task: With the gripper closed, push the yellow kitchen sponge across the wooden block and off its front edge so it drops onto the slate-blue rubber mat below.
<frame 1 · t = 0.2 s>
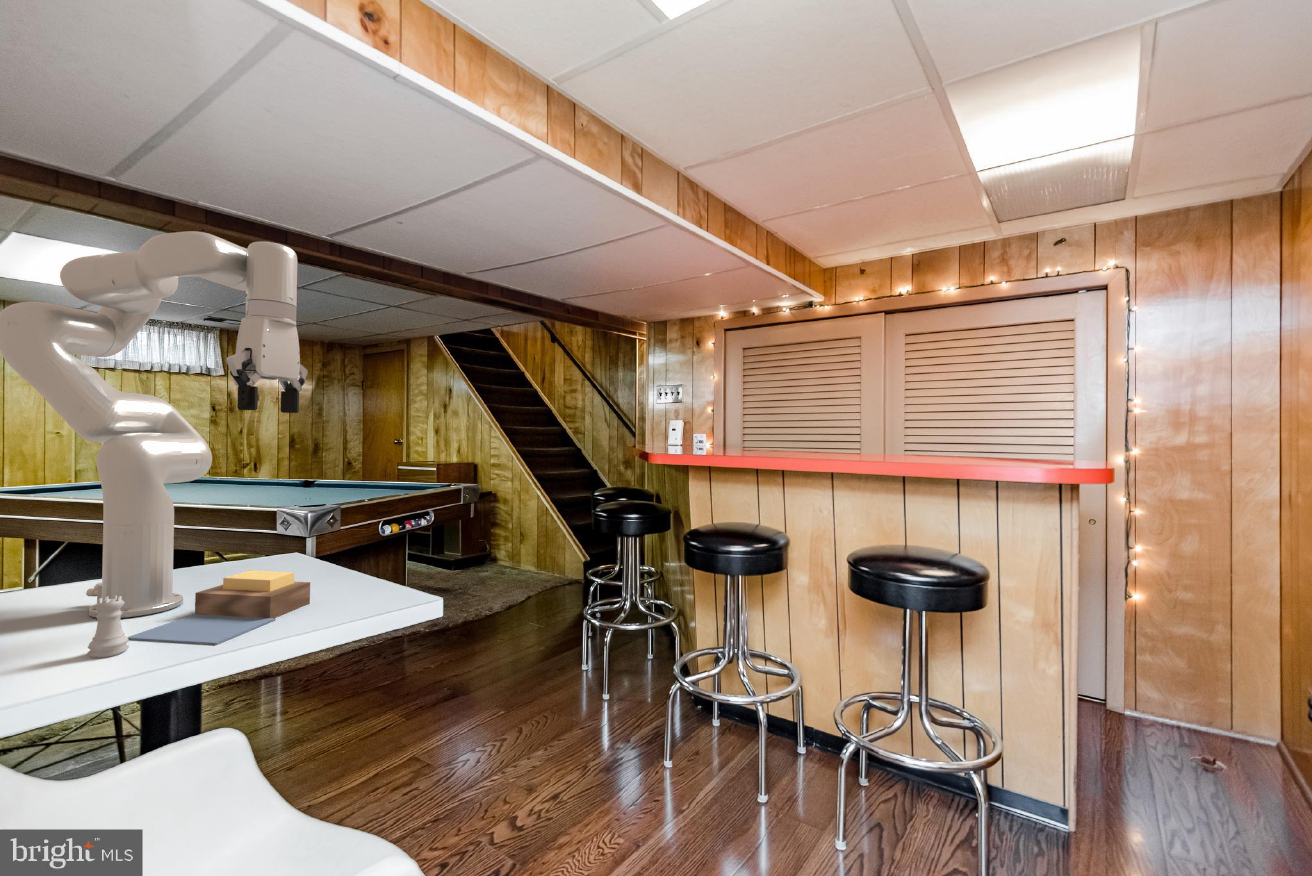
hand: (269, 411, 102), 36 cm above the table, tool pointing down, fingers open, 9 cm apart
rook chess piece: (108, 654, 83), on the table
yellow kitchen sponge: (259, 586, 106), point 4 cm above the table, touching wooden block
wooden block: (254, 609, 105), on the table
mat: (205, 629, 94), on the table
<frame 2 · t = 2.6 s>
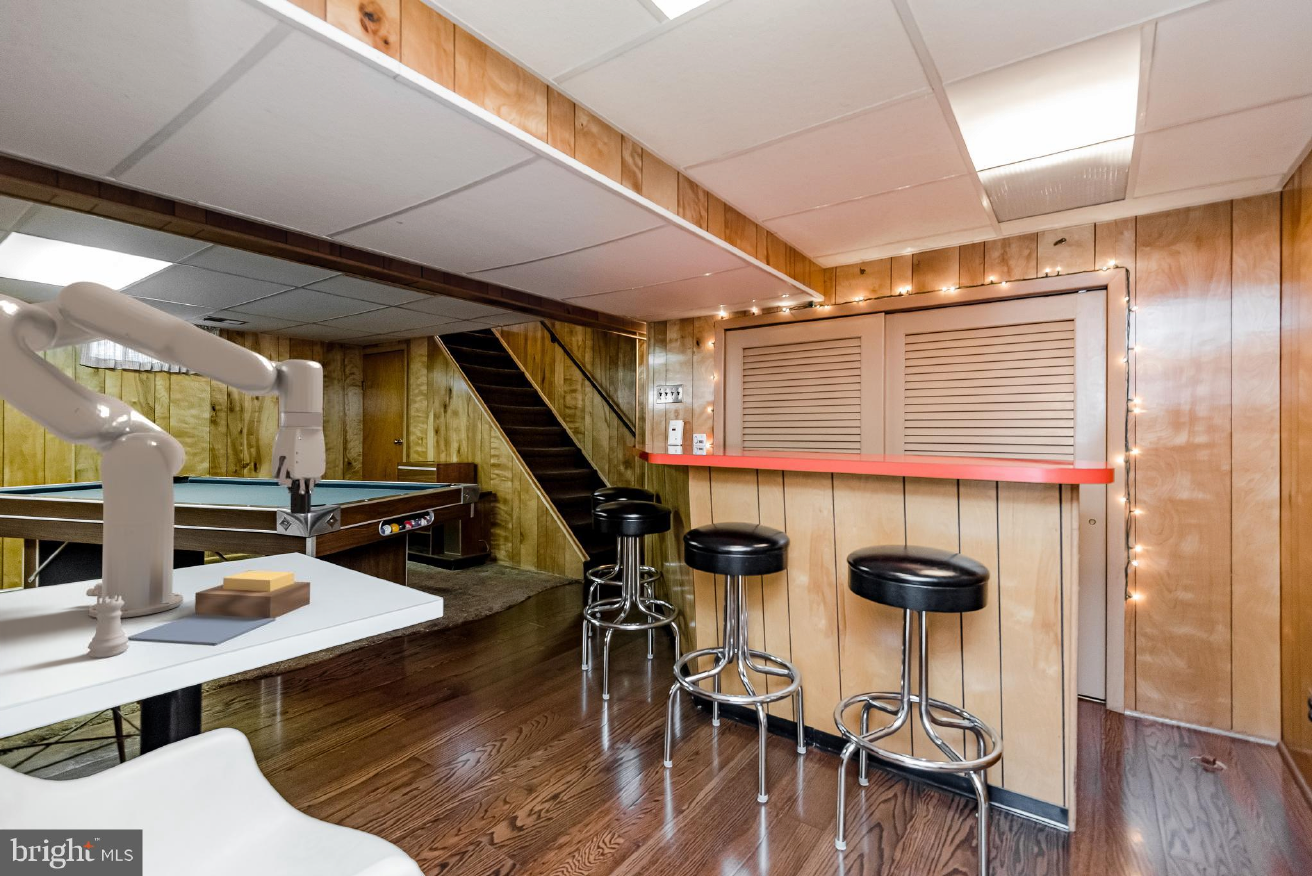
hand: (300, 513, 116), 16 cm above the table, tool pointing down, fingers closed
nothing on the table moved.
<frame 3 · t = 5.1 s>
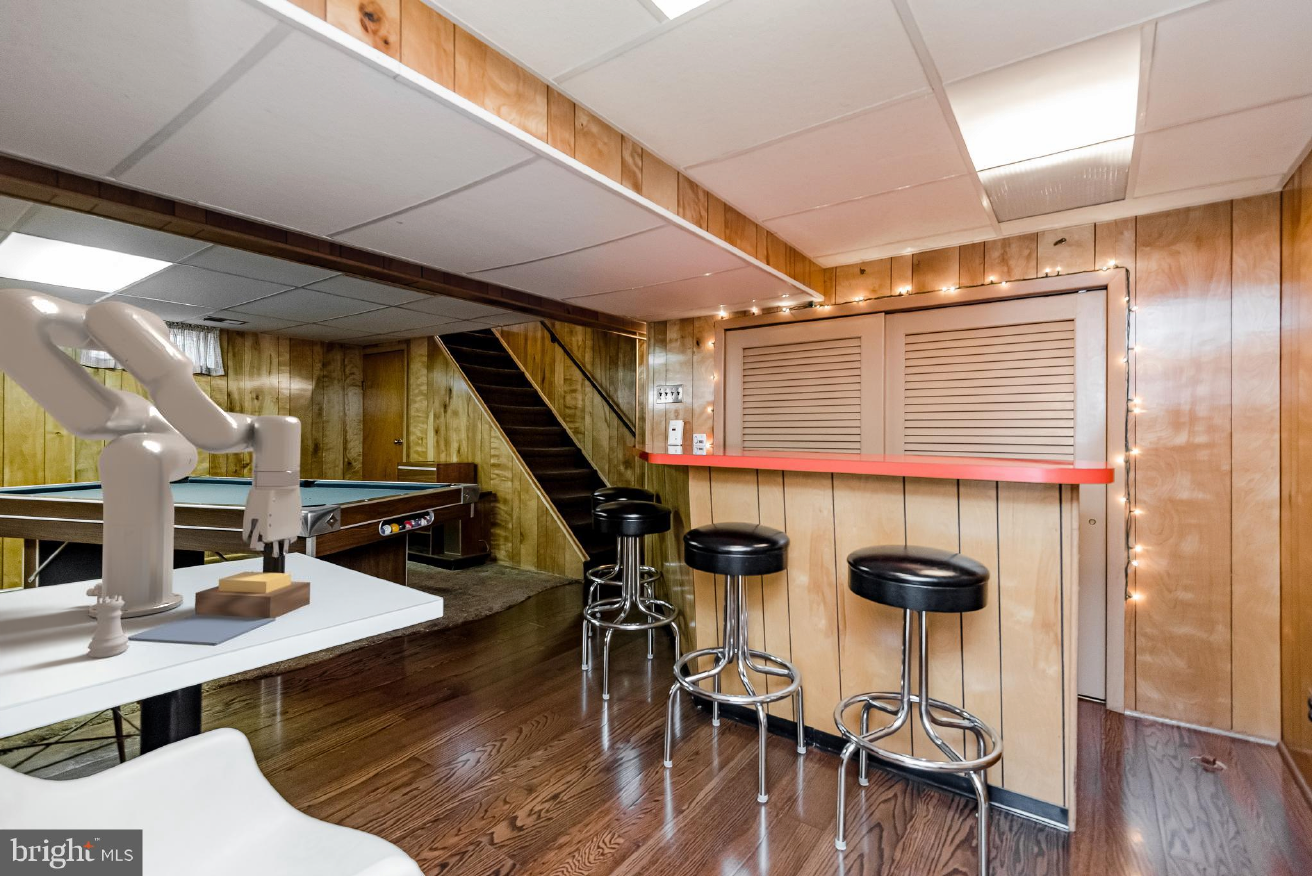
hand: (273, 576, 110), 5 cm above the table, tool pointing down, fingers closed
yellow kitchen sponge: (255, 587, 105), point 4 cm above the table, touching wooden block, gripper
everything else where it was.
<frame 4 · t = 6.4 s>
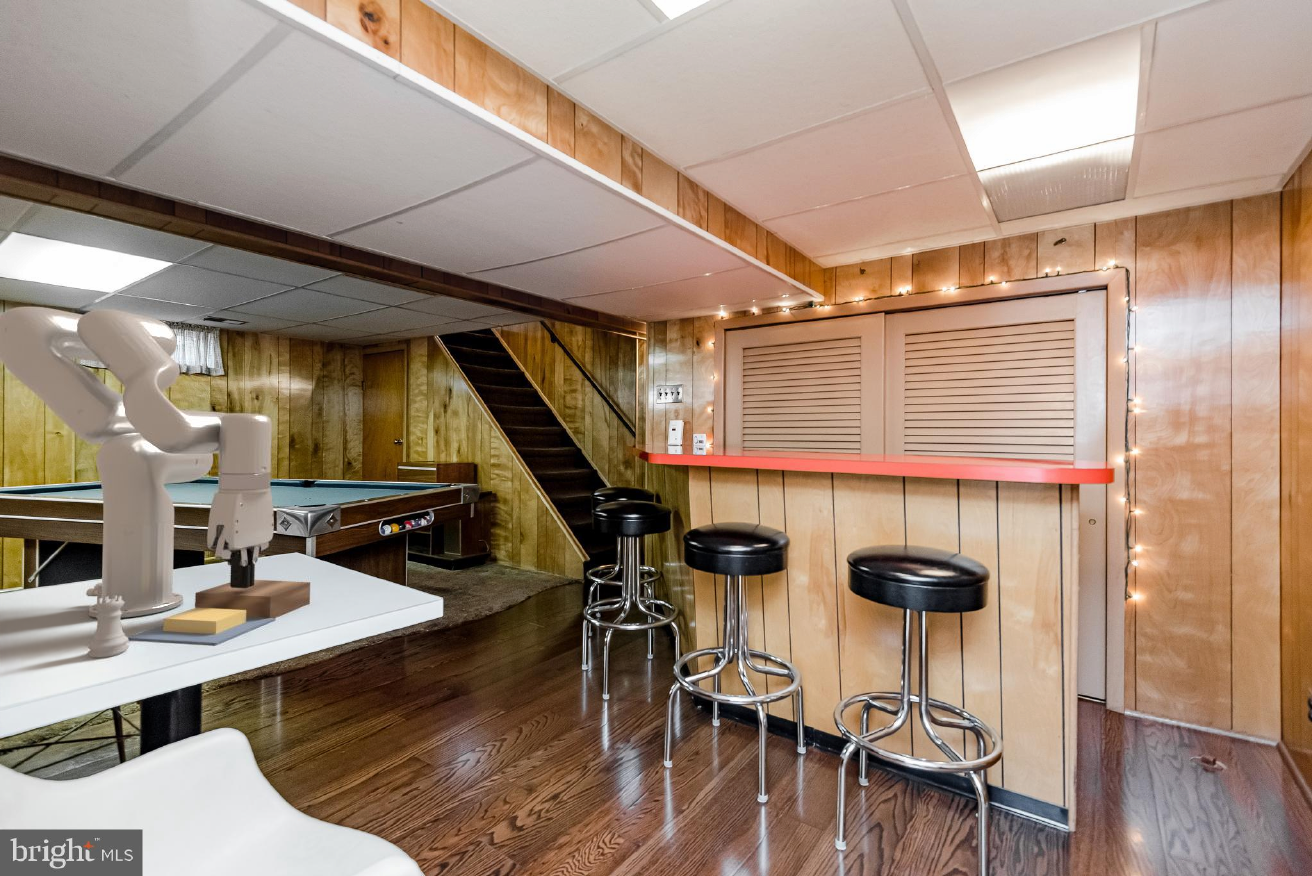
hand: (242, 586, 102), 5 cm above the table, tool pointing down, fingers closed
yellow kitchen sponge: (206, 614, 95), point 2 cm above the table, tilted 180°, touching mat
everything else where it was.
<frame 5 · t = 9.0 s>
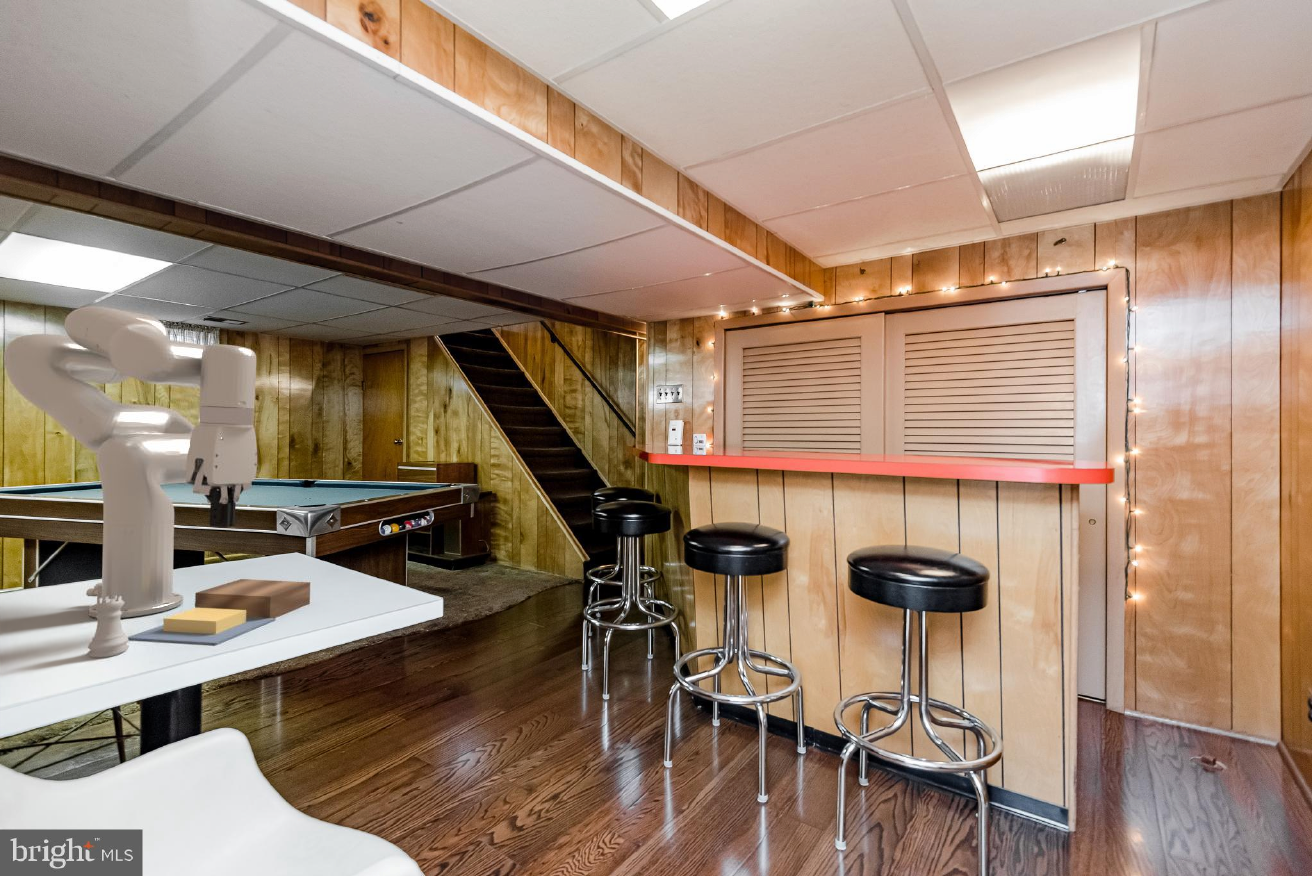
hand: (222, 525, 98), 16 cm above the table, tool pointing down, fingers closed
nothing on the table moved.
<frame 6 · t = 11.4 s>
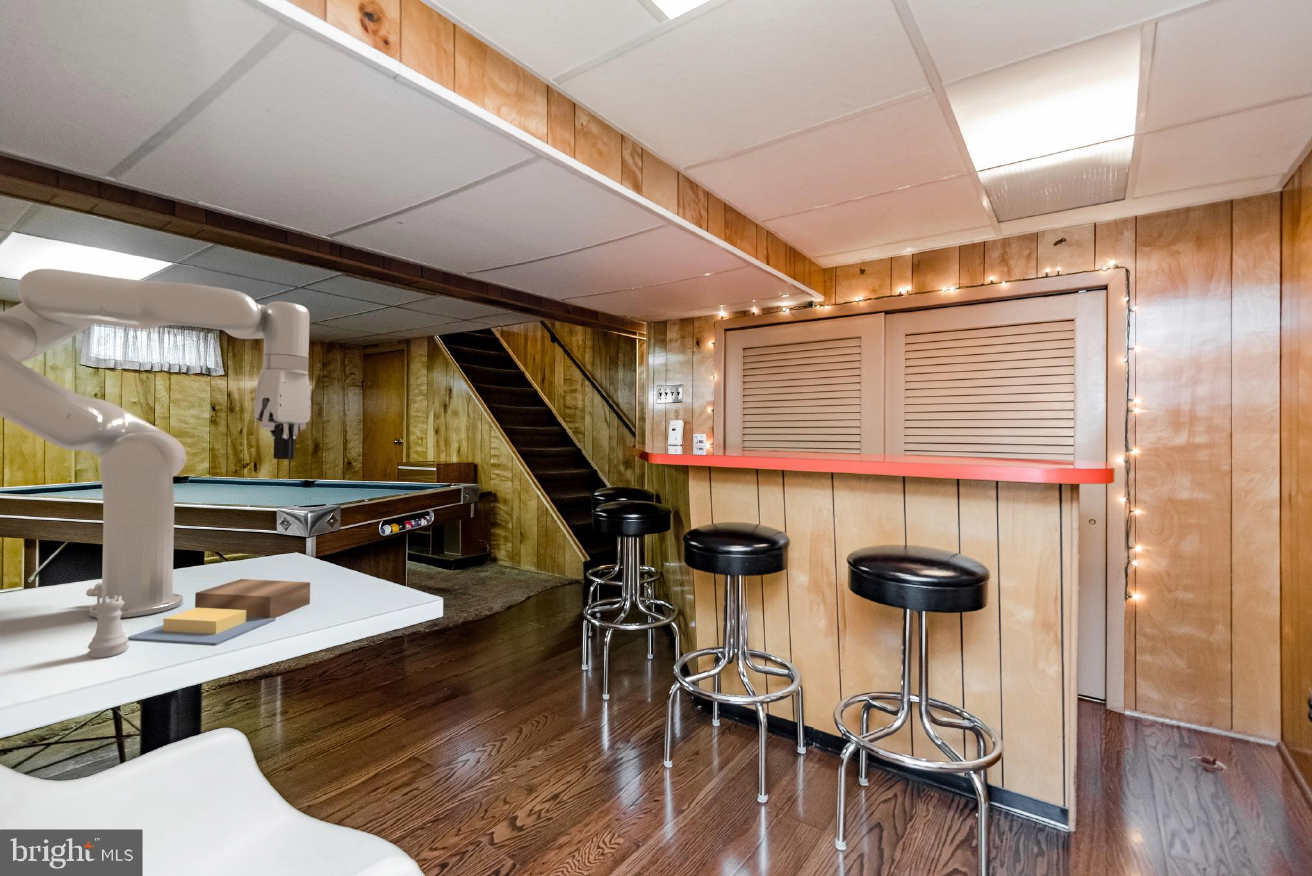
hand: (284, 458, 114), 27 cm above the table, tool pointing down, fingers closed
nothing on the table moved.
at the end: yellow kitchen sponge inside the target area (0.6 cm from its centre), point 2.3 cm above the table; yellow kitchen sponge touching mat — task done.
